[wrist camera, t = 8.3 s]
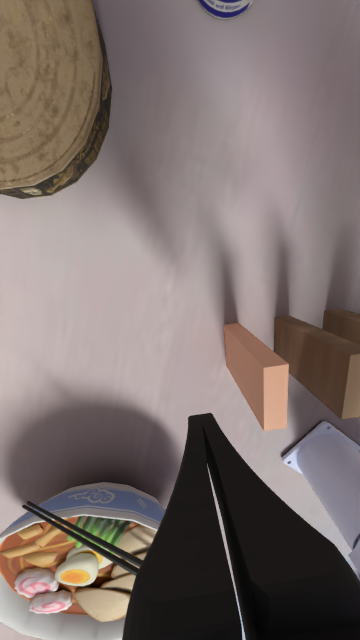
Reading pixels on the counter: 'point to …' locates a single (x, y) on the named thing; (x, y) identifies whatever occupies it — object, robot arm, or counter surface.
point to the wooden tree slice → (50, 94)
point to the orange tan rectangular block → (258, 376)
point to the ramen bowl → (76, 561)
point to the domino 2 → (343, 324)
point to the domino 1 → (321, 364)
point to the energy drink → (225, 7)
